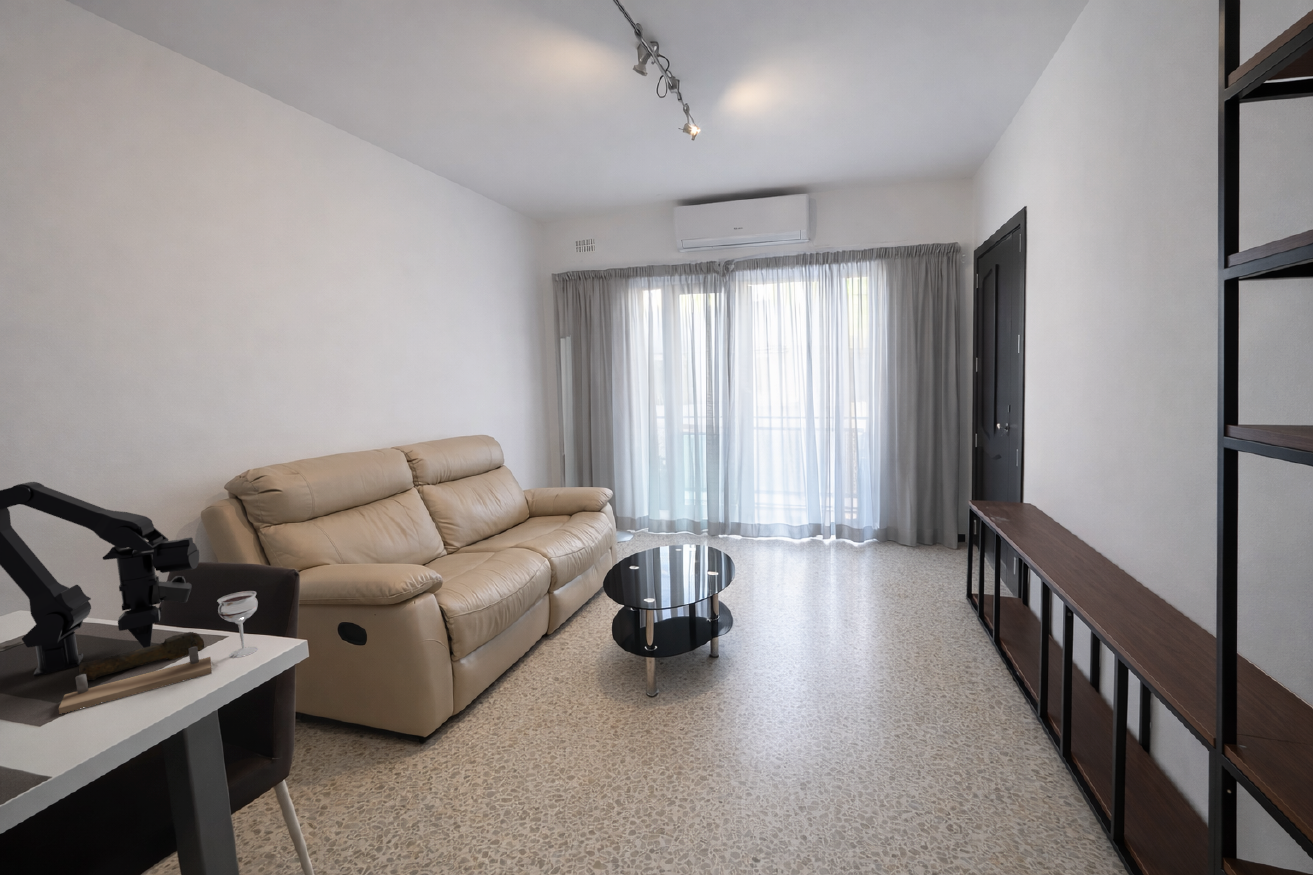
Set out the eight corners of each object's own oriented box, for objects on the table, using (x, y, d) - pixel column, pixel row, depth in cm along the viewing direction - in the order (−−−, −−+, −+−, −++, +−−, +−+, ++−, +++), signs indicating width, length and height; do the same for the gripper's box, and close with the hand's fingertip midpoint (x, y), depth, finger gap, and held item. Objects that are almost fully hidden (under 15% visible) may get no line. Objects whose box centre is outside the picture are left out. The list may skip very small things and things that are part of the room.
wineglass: (260, 654, 121) (253, 598, 120) (220, 662, 118) (213, 605, 117) (265, 641, 127) (259, 588, 126) (227, 649, 124) (221, 595, 123)
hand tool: (79, 687, 111) (76, 663, 110) (82, 679, 114) (78, 656, 113) (204, 654, 123) (202, 633, 122) (204, 648, 126) (201, 627, 125)
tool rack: (65, 700, 105) (62, 678, 105) (211, 662, 118) (208, 642, 118) (59, 714, 101) (56, 691, 100) (211, 673, 113) (209, 652, 113)
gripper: (185, 577, 121) (194, 649, 122) (186, 558, 135) (195, 622, 137) (112, 590, 114) (123, 667, 115) (122, 569, 128) (131, 637, 130)
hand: (147, 646), depth 124 cm, fingers closed
